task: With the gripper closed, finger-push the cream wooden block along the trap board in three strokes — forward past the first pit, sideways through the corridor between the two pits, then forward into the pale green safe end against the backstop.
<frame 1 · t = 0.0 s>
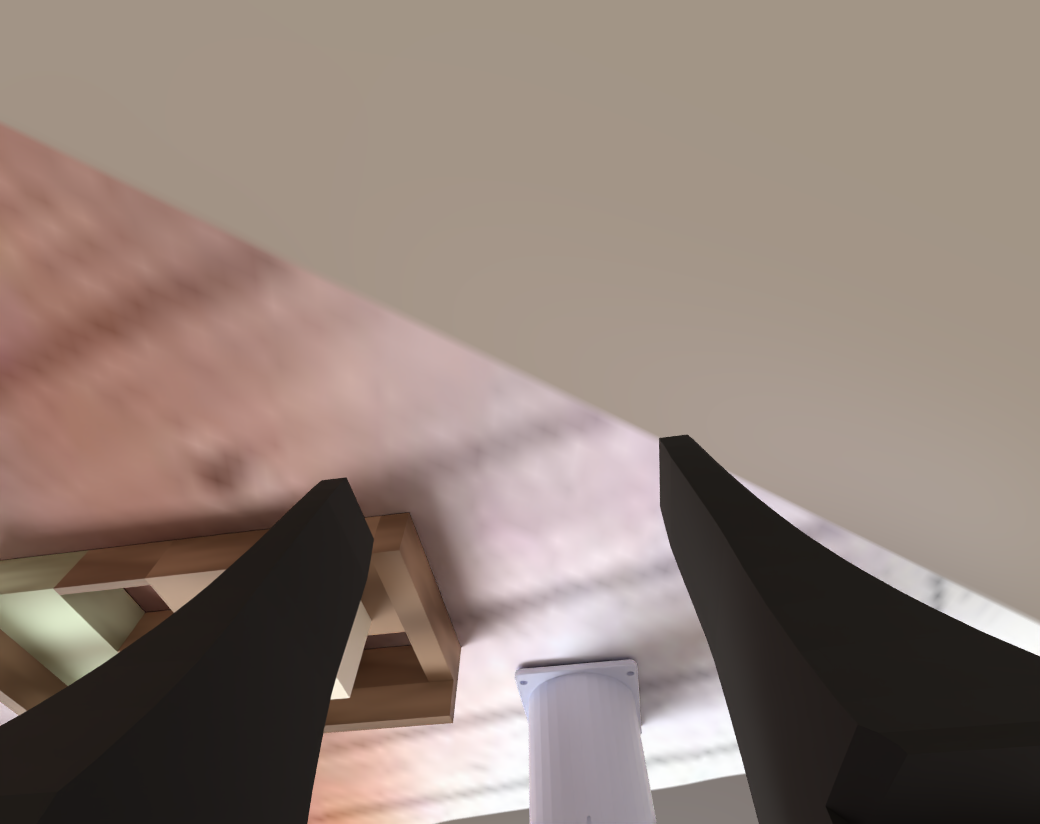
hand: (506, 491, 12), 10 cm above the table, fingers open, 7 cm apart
cream block: (321, 600, 26), point 2 cm above the table, touching trap board
trap board: (242, 608, 30), on the table
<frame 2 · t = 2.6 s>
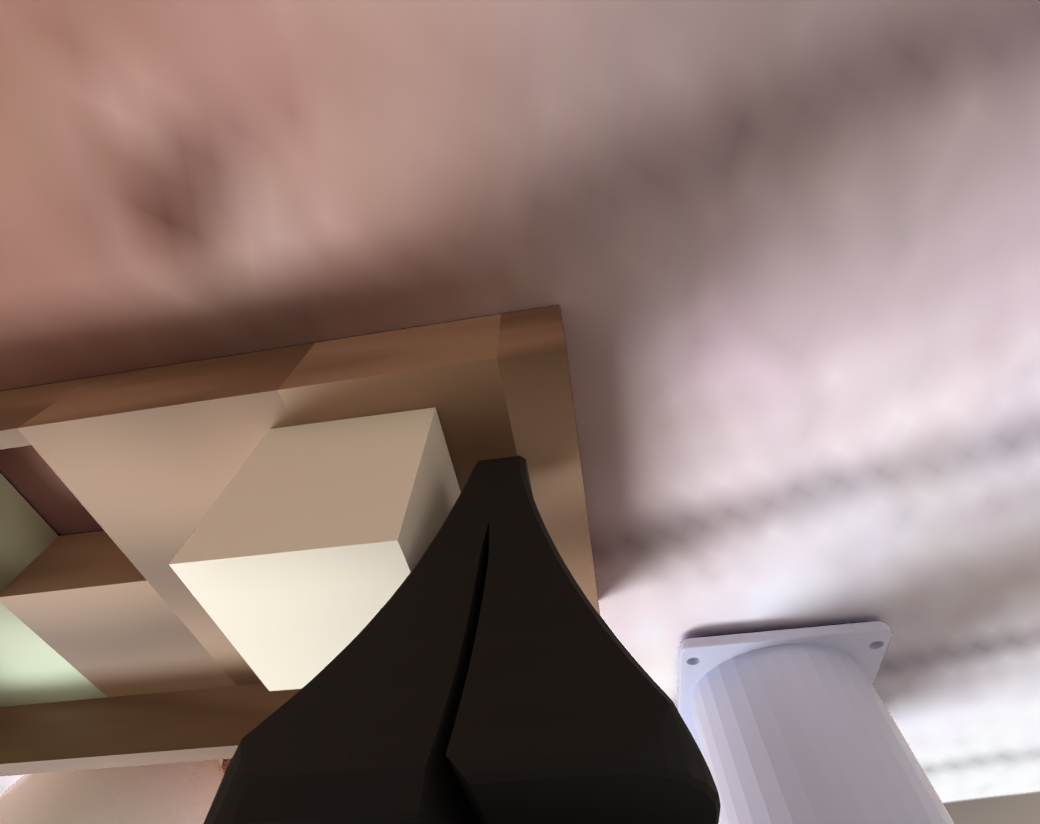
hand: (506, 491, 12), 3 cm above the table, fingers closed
cream block: (378, 483, 13), point 3 cm above the table, touching gripper, trap board
lidded jar: (163, 746, 26), on the table
trap board: (228, 526, 17), on the table
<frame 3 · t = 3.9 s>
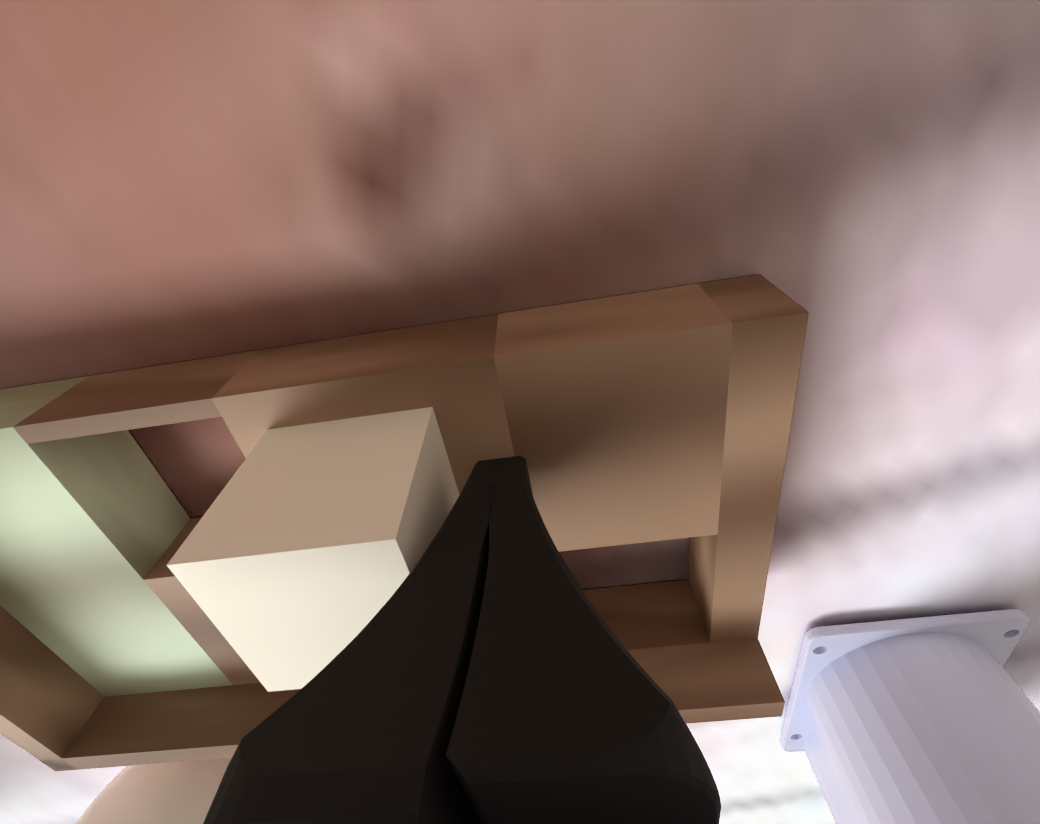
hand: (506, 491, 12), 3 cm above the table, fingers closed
cream block: (375, 483, 13), point 2 cm above the table, touching gripper, trap board
lidded jar: (251, 738, 26), on the table
trap board: (367, 508, 17), on the table
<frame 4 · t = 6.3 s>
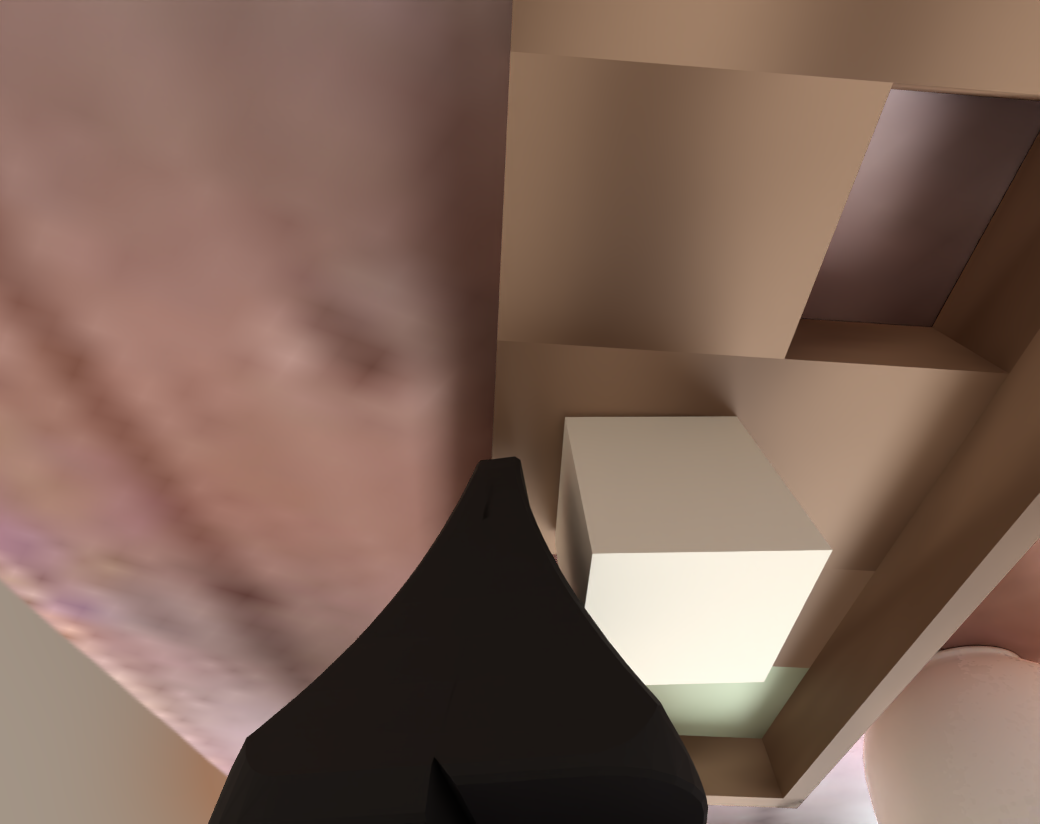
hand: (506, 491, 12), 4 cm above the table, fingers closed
cream block: (638, 482, 13), point 3 cm above the table, touching gripper, trap board
lidded jar: (942, 680, 23), on the table
trap board: (682, 477, 16), on the table
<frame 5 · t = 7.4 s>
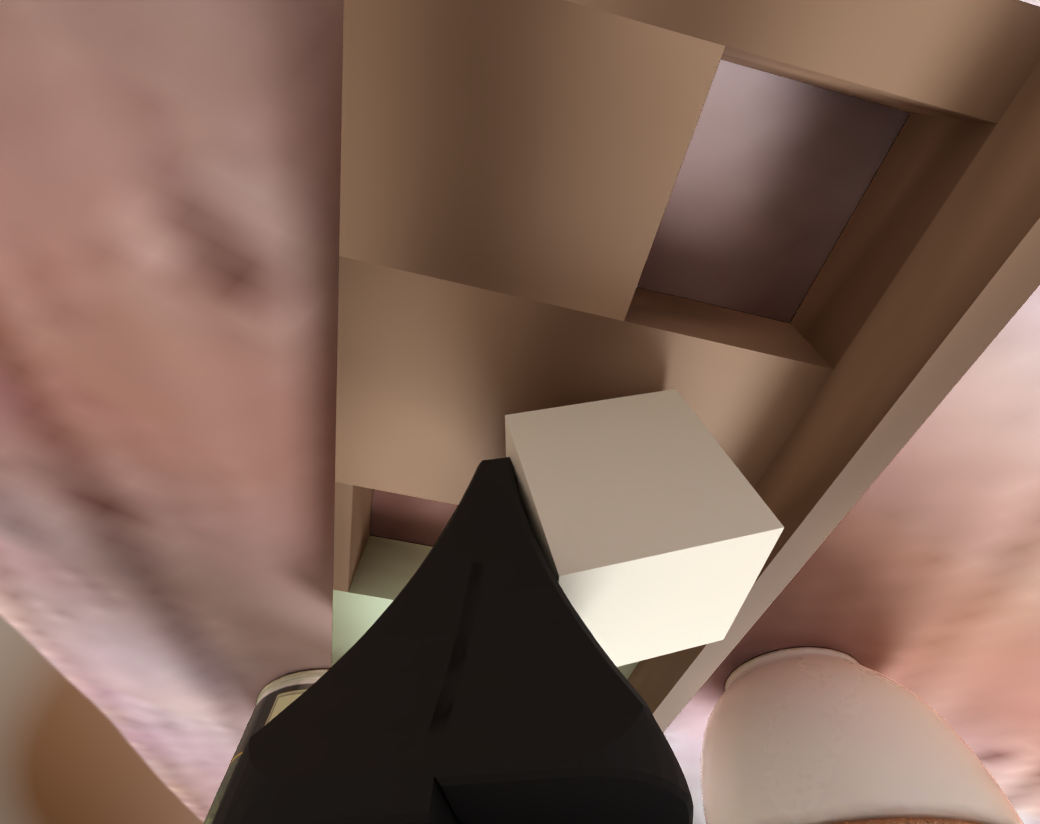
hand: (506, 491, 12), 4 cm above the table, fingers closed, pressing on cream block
coffee can: (356, 714, 28), on the table
cream block: (585, 464, 12), point 3 cm above the table, tilted 17°, touching gripper, trap board
lidded jar: (790, 678, 24), on the table
trap board: (550, 442, 16), on the table
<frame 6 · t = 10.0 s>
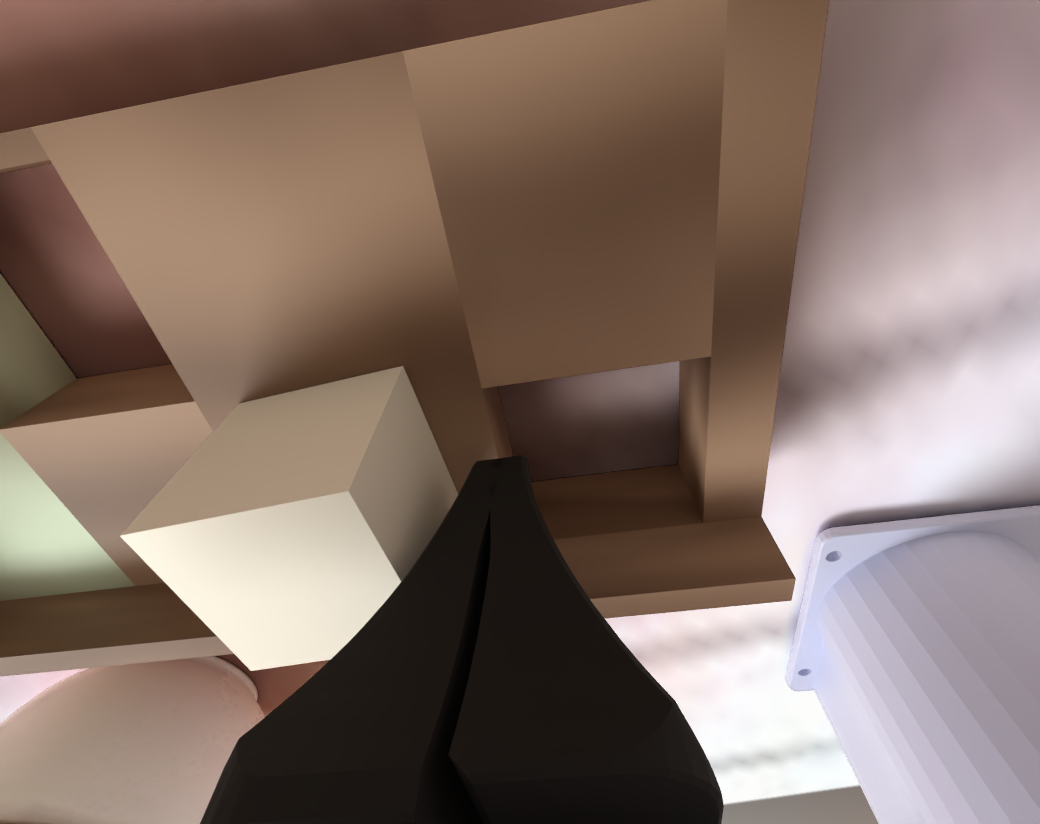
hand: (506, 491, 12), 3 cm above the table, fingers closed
cream block: (356, 454, 12), point 3 cm above the table, touching gripper
lidded jar: (190, 680, 23), on the table
trap board: (288, 363, 14), on the table
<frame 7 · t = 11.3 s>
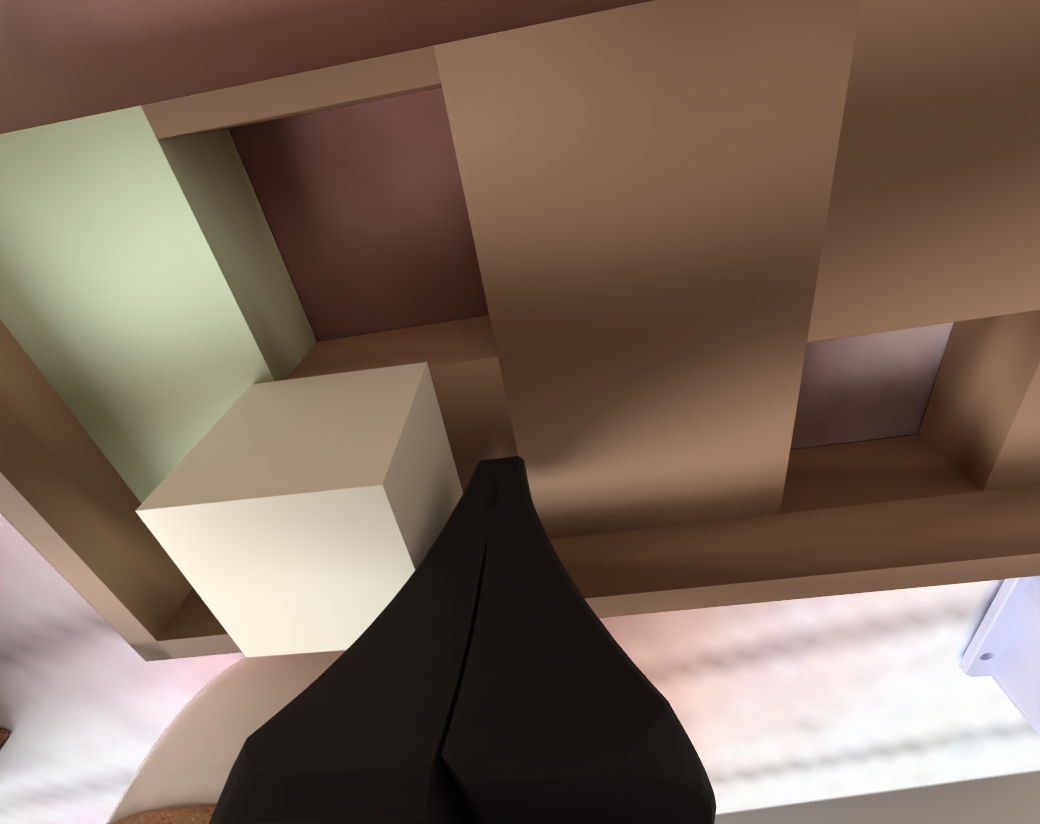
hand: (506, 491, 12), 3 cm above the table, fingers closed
cream block: (366, 445, 12), point 3 cm above the table, touching gripper, trap board
lidded jar: (339, 665, 22), on the table
trap board: (543, 325, 13), on the table
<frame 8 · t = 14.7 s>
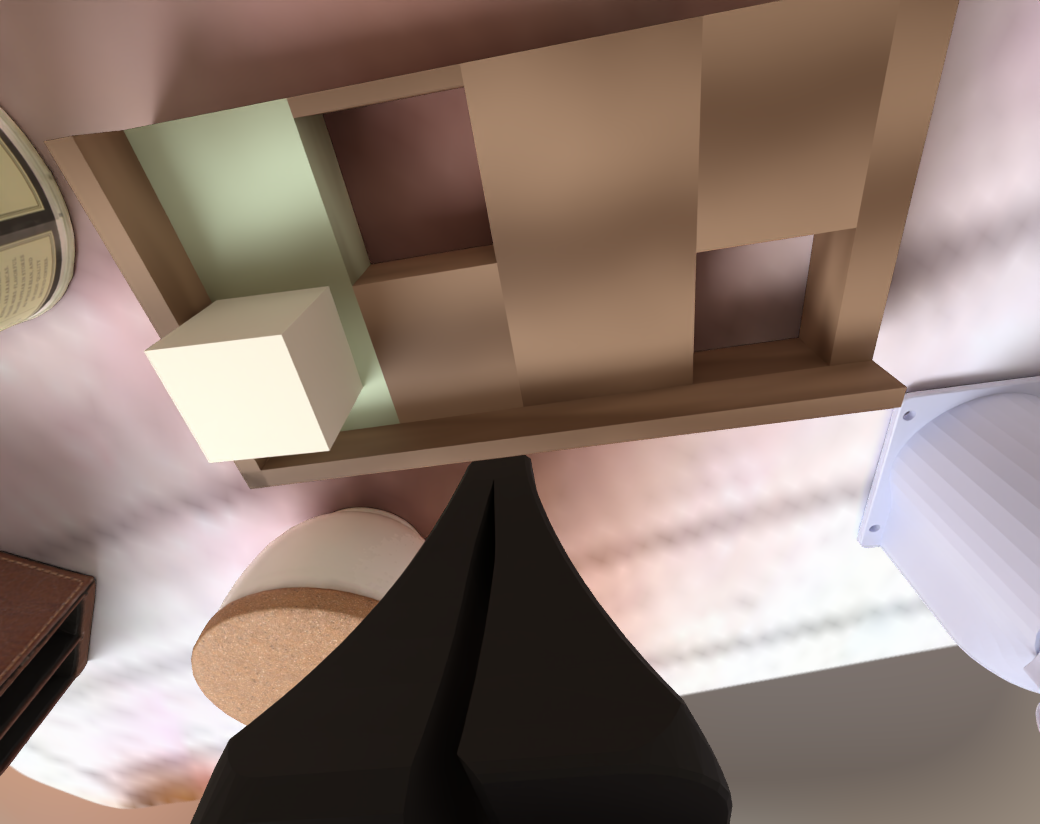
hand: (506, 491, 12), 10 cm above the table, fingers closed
cream block: (293, 345, 18), point 2 cm above the table, touching trap board
lidded jar: (370, 544, 28), on the table
trap board: (528, 252, 19), on the table
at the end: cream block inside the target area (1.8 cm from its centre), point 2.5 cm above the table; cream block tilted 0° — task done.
